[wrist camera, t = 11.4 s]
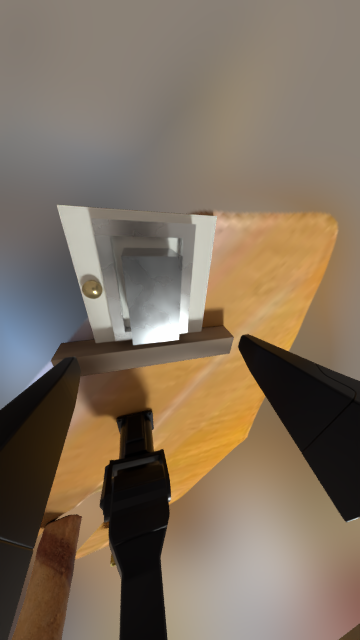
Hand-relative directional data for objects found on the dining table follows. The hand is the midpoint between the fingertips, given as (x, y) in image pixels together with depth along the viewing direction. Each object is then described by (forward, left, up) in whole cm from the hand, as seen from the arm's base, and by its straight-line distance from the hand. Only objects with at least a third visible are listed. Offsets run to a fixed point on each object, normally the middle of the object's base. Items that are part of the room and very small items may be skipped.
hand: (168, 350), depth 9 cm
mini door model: (0, 0, -12) cm, 12 cm away
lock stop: (0, 0, -11) cm, 11 cm away
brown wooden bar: (-9, 0, -12) cm, 15 cm away
